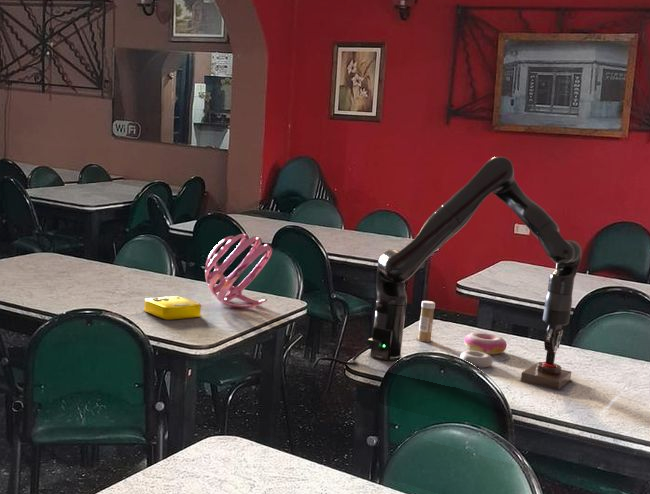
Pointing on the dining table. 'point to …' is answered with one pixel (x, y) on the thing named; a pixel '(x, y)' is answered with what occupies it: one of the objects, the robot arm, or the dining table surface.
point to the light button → (549, 365)
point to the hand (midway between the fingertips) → (549, 363)
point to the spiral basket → (227, 282)
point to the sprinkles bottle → (426, 321)
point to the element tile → (172, 307)
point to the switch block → (546, 376)
